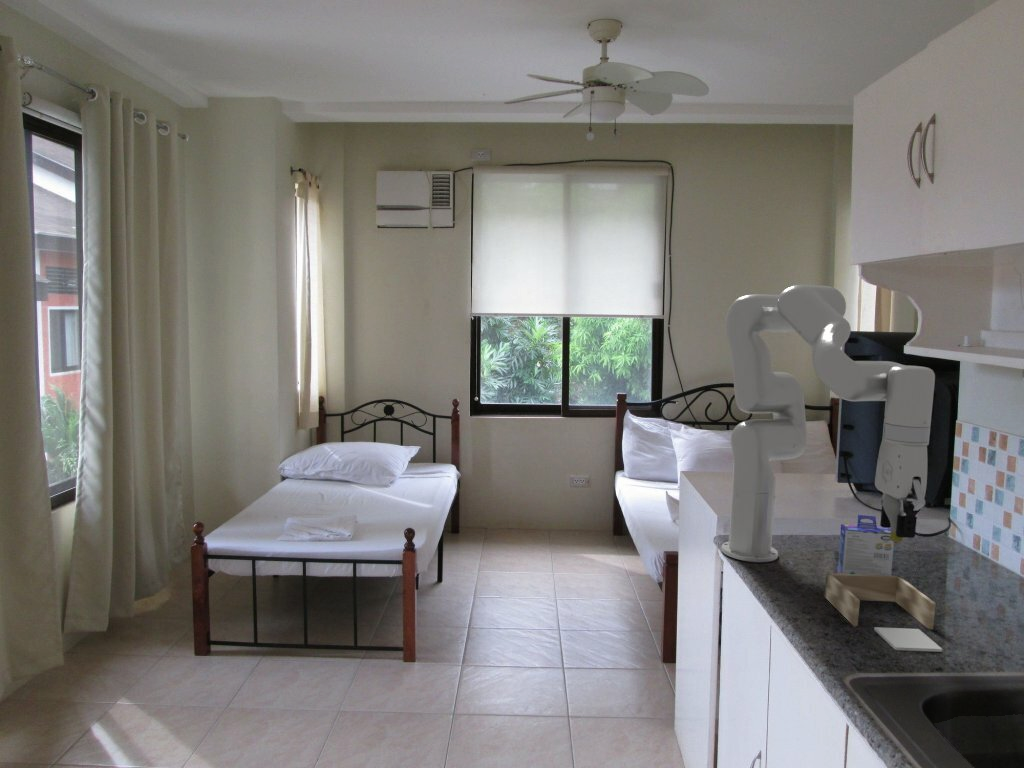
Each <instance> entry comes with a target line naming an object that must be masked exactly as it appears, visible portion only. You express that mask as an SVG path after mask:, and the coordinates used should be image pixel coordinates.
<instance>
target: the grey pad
mask: <svg viewBox="0 0 1024 768" xmlns="http://www.w3.org/2000/svg"><path fill="white" fill-rule="evenodd" d="M873 630H874V631H875V632H876V633H877V635H878V636H880V637H881V638H882V639H883V640H884V641H886V643H887V644H888V645H889V646H890V647H892V648H893V649H894V651H910V652H912V651H913V652H914V651H915V652H933V653H934V652H936V653H937V652H938V653H939V652H940V653H943V648H942V647H941V646H939V645H938V644H937V643H936V642H935V641H934V640H933V639H931V638H930V637H929V636H927V634H925V633H924V632H923V631H922V630H921V629H919V628H907V627H906V628H905V627H904V628H902V627H878V626H877V627H876V626H875V627H873Z"/></svg>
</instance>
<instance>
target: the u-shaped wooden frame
mask: <svg viewBox="0 0 1024 768" xmlns="http://www.w3.org/2000/svg"><path fill="white" fill-rule="evenodd" d="M824 597H825V598H826V599H827V600H828V601H829V602H830V603H831V604H832V605H833V606H834V607H835V608H836V609H837V610H838V611H839V612H840V613H841V614H842V615H843V616H844V617H845V618H846V619H847V620H848V621H849V622H850V623H851V624H852V625H853V626H852V625H851V624H850V623H849V622H848V621H847V620H846V619H845V618H844V617H843V616H842V615H841V614H840V613H839V612H838V611H837V610H836V609H835V610H836V611H837V612H838V613H839V614H840V615H841V616H842V617H843V618H844V619H845V620H846V621H847V622H848V623H849V624H850V625H851V626H852V627H856V626H858V625H859V615H860V604H861V603H860V602H861V601H871V602H873V601H876V602H894V603H896V604H897V605H898V606H900V607H901V608H902V609H904V610H905V611H906V612H907V613H908V614H909V615H911V616H912V617H913V618H915V620H917V621H918V622H920V623H921V625H923V626H924V627H925V628H927V629H928V630H934V625H935V624H934V623H935V613H936V602H934V600H932V599H930V597H928V595H925V594H924V593H923V592H921V591H920V590H918V588H916V587H915V586H913V584H911V583H909V582H908V581H907V580H905V578H903V577H902V576H901V575H891V576H884V575H857V574H838V573H828V572H827V573H826V574H825V585H824ZM825 598H824V599H825ZM827 600H826V601H827ZM828 601H827V602H828ZM829 602H828V603H829ZM830 603H829V604H830ZM831 604H830V605H831ZM832 605H831V606H832Z"/></svg>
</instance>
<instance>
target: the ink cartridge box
mask: <svg viewBox="0 0 1024 768" xmlns="http://www.w3.org/2000/svg"><path fill="white" fill-rule="evenodd" d="M865 519H867V520H870V521H872V522H863V521H861V520H865ZM890 532H891V530H890V528H885V527H881V526H878V525H877V519H876V516H872V515H863V514H857V524H844V523H842V524H840V535H839V536H840V537H839V551H838V564H837V574H857V575H884V576H892V570H893V569H892V568H893V559H894V558H893V557H894V545H895V543H894V542H893V541H891V540H890V536H891V535H890V534H891V533H890Z"/></svg>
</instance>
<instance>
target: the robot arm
mask: <svg viewBox="0 0 1024 768" xmlns="http://www.w3.org/2000/svg"><path fill="white" fill-rule="evenodd" d="M846 311H847V302H846V299H845V297H844V295H843V294H842V292H840V291H839V290H838V288H836V287H833V286H829V285H816V284H815V285H814V284H796V285H792V286H790V287H787V288H785V289H784V290H782V292H781V293H780V294H766V293H764V294H762V293H760V294H758V293H755V294H747V295H743V296H740V297H738V298H736V299H735V300H734V302H732V304H731V305H730V306H729V308H728V310H727V314H726V317H725V319H726V320H725V331H726V337H727V340H728V344H729V349H730V352H731V362H732V364H731V365H732V377H733V391H734V399H735V404H736V406H737V408H738V409H739V410H740V411H742V412H744V413H746V414H772V418H759V419H757V418H756V419H748V420H744V421H742V422H739V423H738V424H737V425H736V426H735V427H734V428H733V430H732V431H731V436H730V443H731V444H730V445H731V452H732V463H733V464H732V466H733V468H732V491H731V505H730V517H729V518H730V519H729V530H728V531H729V532H728V533H729V534H728V541H725V542H723V543H722V544H721V552H722V553H723V554H724V555H726V557H727V556H728V557H730V558H732V559H734V560H735V559H736V560H738V561H742V562H743V561H744V562H749V563H769V562H773V561H776V560H777V559H778V558H779V557H778V556H779V552H778V550H777V549H776V548H774V547H773V546H772V543H773V542H772V540H773V530H774V529H773V528H774V516H775V515H774V514H775V501H776V489H777V480H776V476H775V473H774V470H773V469H772V467H771V465H770V462H771V461H772V462H773V461H784V460H793V459H797V458H799V457H800V456H802V455H803V453H804V452H805V450H806V448H807V441H808V433H807V422H806V421H807V419H806V418H807V417H806V407H805V397H804V396H805V394H804V391H803V387H802V385H801V383H800V381H799V380H798V378H797V377H796V376H795V375H793V374H791V373H789V372H784V371H773V368H772V363H771V352H770V350H769V347H768V345H767V343H766V342H765V340H764V339H763V338H762V337H761V335H760V333H787V334H788V333H797V335H798V336H800V338H801V339H803V341H805V343H807V344H808V346H810V348H811V349H812V350H811V361H812V366H813V369H814V372H815V374H816V375H817V377H818V378H819V379H820V381H822V382H823V384H824V385H825V386H826V387H827V388H828V389H829V390H830V391H831V392H832V393H833V394H835V395H836V396H837V397H838V398H840V399H842V400H845V401H849V402H885V405H884V406H885V407H884V415H883V417H884V418H883V427H882V428H883V429H882V437H881V438H882V440H881V443H880V446H879V451H878V455H877V456H878V457H877V463H876V470H875V476H874V477H875V478H874V485H875V488H876V489H877V490H878V491H880V495H881V500H880V503H881V511H880V521H879V522H880V524H879V527H885V528H890V527H891V524H890V521H889V519H888V517H887V515H886V513H885V510H884V508H883V499H884V497H885V496H886V494H887V495H889V496H891V497H893V498H895V499H899V503H900V515H898V516H897V527H896V536H897V537H903V538H908V539H909V538H910V539H911V538H912V539H913V538H915V537H916V529H917V520H918V519H917V517H919V515H920V513H919V512H920V511H921V510H922V508H923V507H924V506H925V505H926V500H925V497H926V491H927V484H928V481H927V480H928V446H929V444H930V435H931V423H932V415H933V413H932V412H933V405H934V404H933V403H934V391H935V383H936V382H935V381H936V374H935V372H934V370H933V369H931V368H930V367H926V366H920V365H919V366H918V365H905V364H901V363H898V362H895V361H889V360H853V359H852V358H850V357H849V356H848V355H847V354H846V353H845V351H843V350H842V349H841V348H842V347H843V346H845V344H846V342H848V340H849V338H850V335H851V329H852V328H851V325H850V322H849V321H848V320H847V319H846V318H845V317H844V316H845V314H846ZM907 495H912V498H906V497H907ZM906 502H912V504H909V505H908V506H907V507H906Z"/></svg>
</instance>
